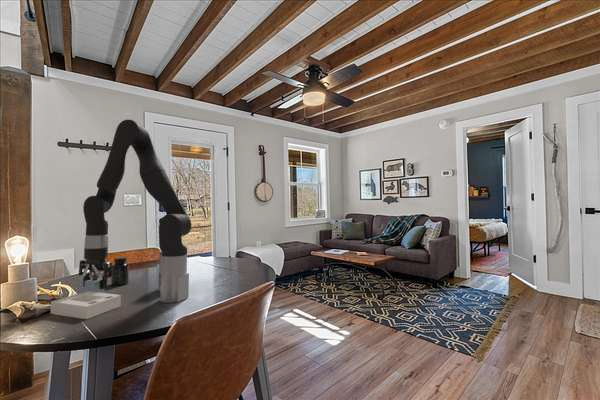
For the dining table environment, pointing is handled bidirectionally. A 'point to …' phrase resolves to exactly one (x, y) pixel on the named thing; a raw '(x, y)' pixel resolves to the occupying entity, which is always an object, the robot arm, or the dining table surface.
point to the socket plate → (85, 304)
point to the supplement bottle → (120, 272)
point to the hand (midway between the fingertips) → (94, 287)
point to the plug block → (94, 285)
